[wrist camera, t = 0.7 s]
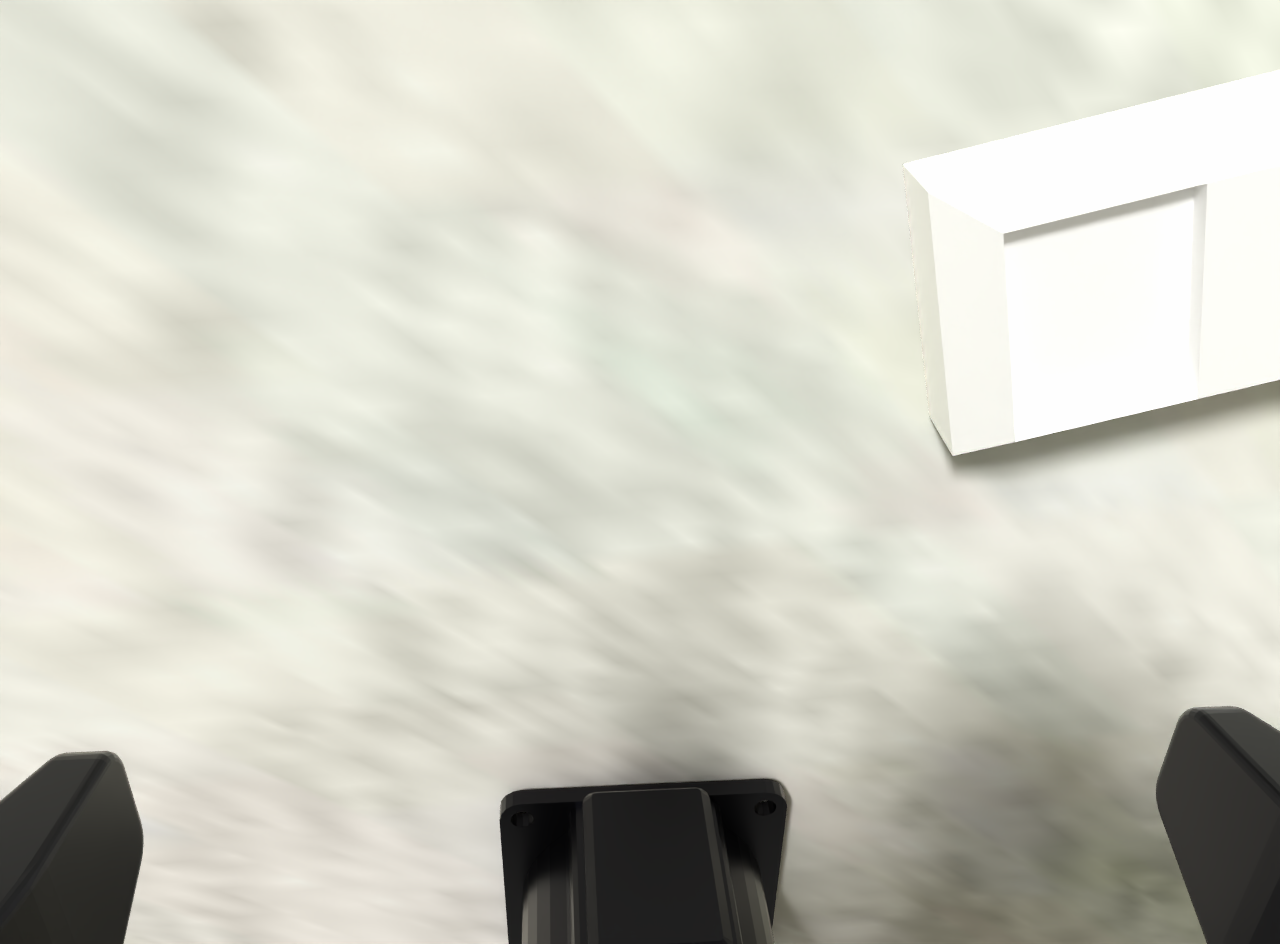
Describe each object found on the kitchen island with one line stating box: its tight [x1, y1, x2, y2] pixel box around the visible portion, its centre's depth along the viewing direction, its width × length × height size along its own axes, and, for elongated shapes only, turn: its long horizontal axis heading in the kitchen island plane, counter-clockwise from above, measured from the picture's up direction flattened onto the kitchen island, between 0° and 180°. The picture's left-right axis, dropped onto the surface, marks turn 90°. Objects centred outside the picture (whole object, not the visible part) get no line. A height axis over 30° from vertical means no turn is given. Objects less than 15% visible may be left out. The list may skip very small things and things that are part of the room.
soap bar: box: [902, 70, 1280, 456], centre depth 19 cm, size 5×9×3 cm, turn 103°
